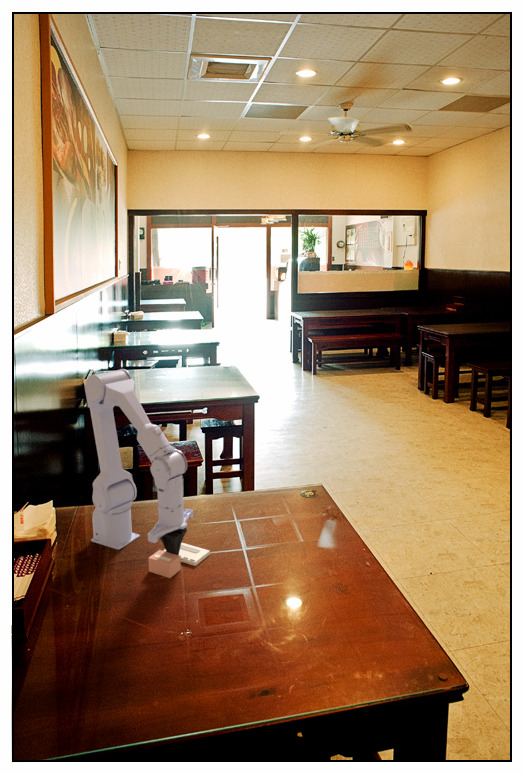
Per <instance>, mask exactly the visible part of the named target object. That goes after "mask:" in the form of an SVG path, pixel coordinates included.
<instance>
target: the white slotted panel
mask: <svg viewBox="0 0 524 774" xmlns="http://www.w3.org/2000/svg"><path fill="white" fill-rule="evenodd" d="M162 551H165V552H166V549H165V548H164V549H163V550H162ZM210 555H211V551H210V550H208V549H205V548H202V547H198V546H196V545H191V544H188V543H184V542H182V543H181V546H180V551H179V555H178V556H180V562H181V563H185V564H188V565H191V566H193V567H196V566H198V565H199V564H200V563H201V562H203V560H205V559H206V558H207V557H208V556H210Z"/></svg>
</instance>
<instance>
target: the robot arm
mask: <svg viewBox="0 0 524 774" xmlns="http://www.w3.org/2000/svg"><path fill="white" fill-rule="evenodd" d="M83 384H84V392H85V397H86V402H87V408H89V411H90V417H91V422H92V428H93V429H92V430H93V435H94V440H95V446H96V452H97V457H98V463H99V468H100V469H99V470H100V473H99V475H97V476H96V478H95V479H94V480H93V482H92V489H93V490H92V503H93V505H94V507H95V508H94V510H93V512H92V516H91V519H92V522H91V523H92V531H93V532H92V533H93V538H91V540H90V541H91V542H92V543H96V544H98V545H102V546H105V547H109V548H112V549H115V550H121V549H122V548H125V546H127V545H129V544H131V543H132V542H134V541H135V540H137V539H138V538H140V534H138V533H135V532H133V530H132V526H133V525H132V511H131V507H132V506H133V501H134V500H136V498H137V494H138V493H137V492H138V491H137V487H136V484H135V483H134V479H133V477H132V476H133V475H132V473H130V472H129V471H127V470H125V469H123V464H122V457H121V453H120V446H119V445H120V444H119V440H118V439H119V438H118V433H117V428H116V421H115V416H114V414H115V413H114V407H115V406H116V407H119V409H121V411H122V412H123V413H124V415H125V416H126V417H127V419H128V420H129V422H130V423H131V424H132V426H133V427H134V428H135V430H136V431H137V434H136V440H137V442H138V443H139V445H140V447H141V448H142V451H144V453H145V455H146V457H147V458H148V460H149V461H150V462H151V465H150V467H149V468H150V469H149V470H150V473H151V475H152V478H153V480H154V485H155V487H156V488H157V510H158V511H157V512H158V521H157V523H156V524H155V525H154V527H152V528H151V530H150V531H149V532H148V533H147V542H149V543H153V544H156V543H157V542H158V540H160V541H161V542H162V545H163V547H164V550H165V549H166V552H168V553H172V554H175V555H179V551H180V546H181V543H183V540H184V537H185V536H186V533H187V531H188V530H187V527H188V523H187V521H188V520H190V519H193V518H194V509H190V508H185V509H184V489H183V487H184V486H183V474H185V473H186V471H187V470H188V460H187V458H186V456H185V454H184V453H183V452H182V450H180V449H177V447H175V446H174V445H173V446H172V445H171V443H170V441H169V440H168V439H167V437H166V436H165V434H164V432H163V431H162V429H161V428H160V427H159V425H157V424H154V423H152V422H151V421H150V418H149V417H148V415H147V413H146V412H145V409H144V408H143V406H142V404H141V401H140V399H139V398H138V396H137V394H136V393H135V390H136V382H135V380H134V379H133V377H132V375H131V373H130V372H129V371H128V370H127V369H125V368H119V369H117V370H113V371H108V372H107V371H106V372H101V373H98V374H93V373H92V374H91V375H89V376H88V377H87V379H86V381H85V383H83Z"/></svg>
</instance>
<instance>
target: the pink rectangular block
mask: <svg viewBox="0 0 524 774" xmlns="http://www.w3.org/2000/svg"><path fill="white" fill-rule="evenodd" d="M181 563H182V562H181V561H180V556H178V555H175V554H172V553H168V552H165V551H163V550H162V549H158V550H157V551H156V552H154V553H153V554H152V555H150V556H149V557H148V571H149V572H150V573H152V574H156V575H159V576H160V577H161V576H162V577H165V578H167V579H171V578H173V576H175V575H176V574H178V573H179V572H180V571H181V570H182V567H181V566H182V565H181Z"/></svg>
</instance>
